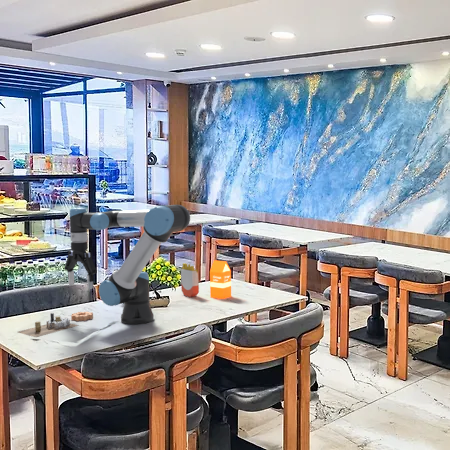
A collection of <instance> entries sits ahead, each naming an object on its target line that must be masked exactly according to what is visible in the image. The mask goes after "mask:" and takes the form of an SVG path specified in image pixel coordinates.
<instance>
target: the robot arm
mask: <svg viewBox="0 0 450 450" xmlns="http://www.w3.org/2000/svg"><path fill="white" fill-rule="evenodd" d="M68 218H69V228H70V231H69V232H70V250H68V252H67V258H66V262H65V264H64V270H65V271H66V272H67V279H68V286H70V287H72V286H75V271H74V269H75V267H76V264H77V263H78V262H79V263H81V264H82V265H83V267H84V269H85V271H86V273H87V274H86V279H87V280H86V284H87V290H91V289H94V281H95V280H94V279H95V278H94V275H95V274H97V269H96V266H95V263H94V260H93V256H92V252H87V250H89V249H88V246H89V244H88V230H95V231H102V230H106V229H107V228H108V229H109V228H119V227H120V228H123V227H124V228H128V227H129V228H130V227H131V228H132V227H138V228H139V227H142V229H143V233H142V235H141V236H140V237H139V239H138V240H137V242H136V244H135V245H134V246H133V249H132V250H131V251H130V253H129V254H128V256H127V257H126V258H125V260H124V262H123V263H122V264H121V266H120V268H119V269H115V270H114V271H113V272H112V273H111V275H110V277H109V278H108V279H104V280H103V281H101V282H100V283H99V287H98V294H99V298H100V300H101V301H102V302H103V304H105V305H107V306H110V307H113V306H118V305H121V304H122V303H124V304H123V308H122V314H121V316H120V322H121V323H123V324H127V325H143V324H147V323H150V322H153V321H154V319H155V317H154V313H153V309H152V306H151V304H150V278H149V273H148V272H147V271H143V270H144V269H145V267H146V265H147V264H148V263H149V261H150V260H151V259H152V258H153V256H154V254H155V252H156V251H157V250H158V249H159V247H160V245H161V244H164V243H166V242H168V240H169V239H170V237H171V236H172V235H173V233H179V232H183V230H186V229H187V227H188V226H189V224H190V222H191V214H190V211H189V210H188V209H187V208H186V207H185V206H184V205H182V204H171V205H158V206H153V207H151V208H150V209H134V210H133V209H131V210H118V209H117V210H116V209H115V210H111V211H101V212H100V211H98V212H88V211H87V208H86V207H72V208H70V209H69V216H68Z"/></svg>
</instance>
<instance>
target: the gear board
mask: <svg viewBox="0 0 450 450" xmlns="http://www.w3.org/2000/svg"><path fill="white" fill-rule="evenodd" d="M61 318H62V317H61V316H56V317H55V316H54V319H56V322H58V321H61ZM41 324H42V323H41V321H36V322H34V327H31V328H28V329H23V330H20V331H17V334H18V333H19V334H23V335H26V336H29V337H30V336H31V337H34V338H31V340H32V341H36V342H37V341H40V340H41V339H39V338H38V337H42V336H46V335H50V334H54V333H58V332H60V331H64V330H68V329H71V328H75V327H78V326H79V324H75V323H71V322H70V326H67V327H66V328H59V329H55V328H51V329H49V328H48V327H47V323H46V324H43V325H41ZM36 338H37V339H36Z"/></svg>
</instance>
